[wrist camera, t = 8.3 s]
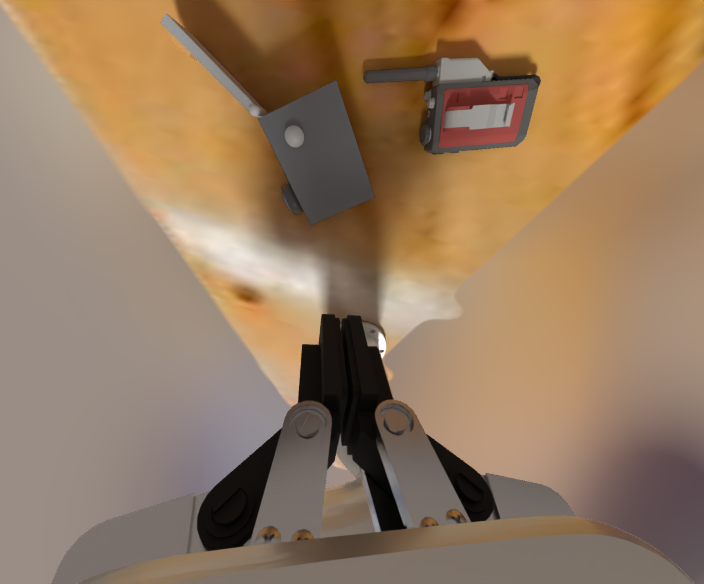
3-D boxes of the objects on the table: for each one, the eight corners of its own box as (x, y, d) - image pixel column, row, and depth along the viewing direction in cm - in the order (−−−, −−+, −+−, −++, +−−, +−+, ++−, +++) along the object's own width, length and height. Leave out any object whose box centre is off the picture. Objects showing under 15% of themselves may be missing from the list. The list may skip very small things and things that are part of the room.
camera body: (366, 188, 33) (375, 198, 28) (300, 217, 34) (297, 232, 29) (332, 86, 27) (335, 75, 22) (252, 125, 28) (238, 123, 23)
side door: (192, 33, 24) (165, 11, 20) (269, 114, 28) (260, 110, 23) (185, 47, 24) (156, 28, 20) (262, 124, 28) (252, 122, 24)
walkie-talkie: (537, 56, 28) (361, 66, 27) (570, 44, 25) (368, 55, 23) (515, 146, 33) (364, 158, 32) (540, 147, 29) (370, 162, 28)
